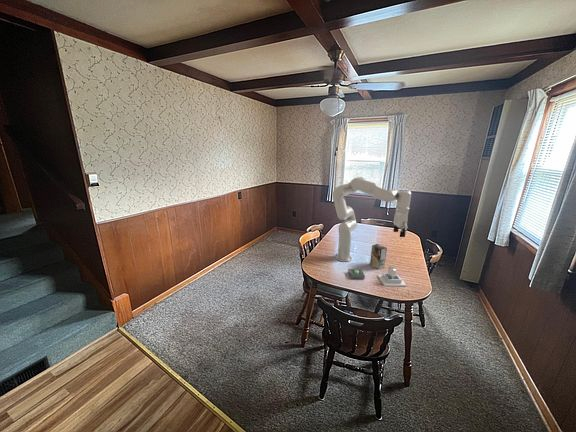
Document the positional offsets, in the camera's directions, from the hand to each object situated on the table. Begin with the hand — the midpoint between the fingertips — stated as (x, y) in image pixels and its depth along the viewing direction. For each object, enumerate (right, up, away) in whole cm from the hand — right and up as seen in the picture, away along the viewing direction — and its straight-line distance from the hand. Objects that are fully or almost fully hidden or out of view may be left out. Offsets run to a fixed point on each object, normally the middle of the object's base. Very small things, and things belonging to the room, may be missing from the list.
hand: (398, 234), depth 153 cm
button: (-27, -29, +6) cm, 40 cm away
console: (-27, -30, +6) cm, 41 cm away
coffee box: (-7, -26, +20) cm, 34 cm away
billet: (-5, -30, 0) cm, 31 cm away
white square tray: (-5, -32, 0) cm, 32 cm away
